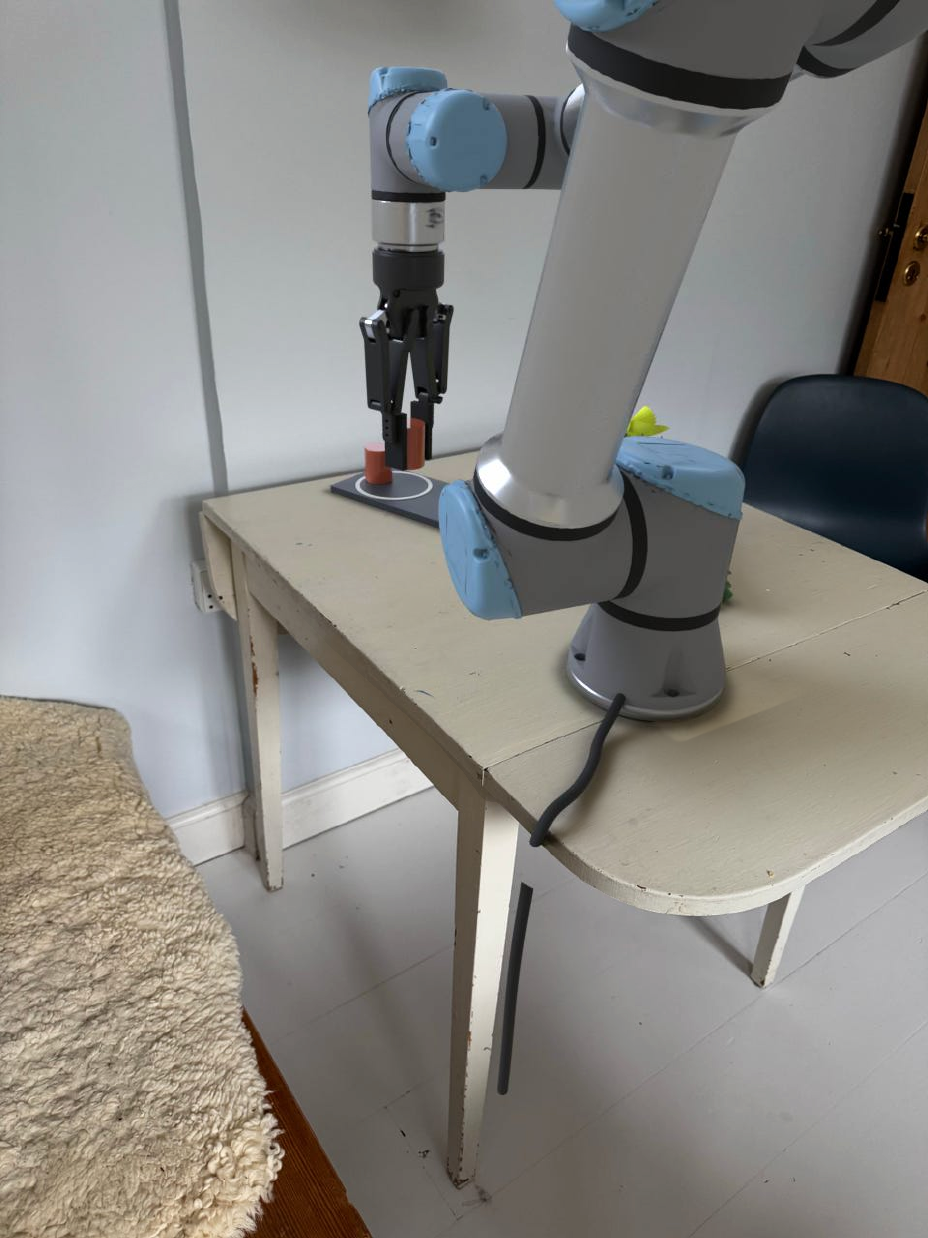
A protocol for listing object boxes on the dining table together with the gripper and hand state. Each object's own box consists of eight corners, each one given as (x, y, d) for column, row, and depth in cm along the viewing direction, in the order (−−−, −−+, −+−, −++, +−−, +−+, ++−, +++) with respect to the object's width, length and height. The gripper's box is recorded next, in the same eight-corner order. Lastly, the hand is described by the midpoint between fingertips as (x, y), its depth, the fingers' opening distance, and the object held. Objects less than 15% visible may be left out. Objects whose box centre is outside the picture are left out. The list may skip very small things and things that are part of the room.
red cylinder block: (410, 472, 96) (410, 430, 94) (383, 464, 98) (383, 422, 96) (431, 463, 99) (432, 422, 97) (405, 456, 101) (405, 415, 99)
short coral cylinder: (380, 486, 121) (379, 453, 119) (359, 479, 123) (358, 447, 121) (398, 479, 124) (397, 446, 122) (377, 472, 126) (377, 440, 123)
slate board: (463, 536, 110) (464, 528, 109) (330, 491, 122) (330, 484, 121) (513, 509, 118) (514, 501, 118) (384, 469, 130) (384, 462, 130)
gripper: (382, 256, 79) (385, 490, 91) (485, 243, 91) (476, 451, 103) (324, 248, 83) (335, 474, 94) (430, 236, 95) (428, 437, 106)
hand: (408, 461), depth 99 cm, fingers closed on red cylinder block, 4 cm apart
